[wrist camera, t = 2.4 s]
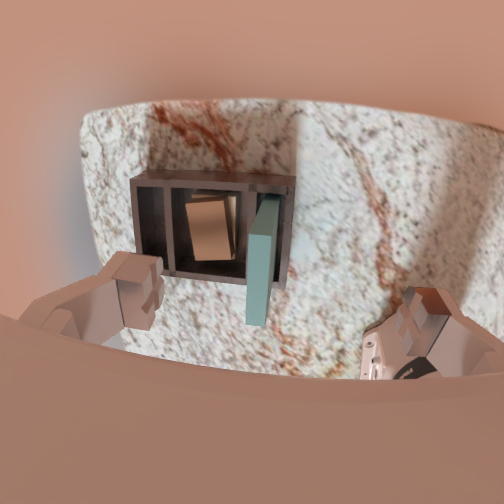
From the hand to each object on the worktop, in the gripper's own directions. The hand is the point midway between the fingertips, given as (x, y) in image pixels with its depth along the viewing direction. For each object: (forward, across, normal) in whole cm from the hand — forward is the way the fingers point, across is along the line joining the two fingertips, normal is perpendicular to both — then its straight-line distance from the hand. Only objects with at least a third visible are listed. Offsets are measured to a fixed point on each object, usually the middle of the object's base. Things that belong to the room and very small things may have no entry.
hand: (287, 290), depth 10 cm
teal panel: (+32, +1, -13) cm, 35 cm away
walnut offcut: (+31, -7, -13) cm, 34 cm away
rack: (+35, -8, -13) cm, 38 cm away
